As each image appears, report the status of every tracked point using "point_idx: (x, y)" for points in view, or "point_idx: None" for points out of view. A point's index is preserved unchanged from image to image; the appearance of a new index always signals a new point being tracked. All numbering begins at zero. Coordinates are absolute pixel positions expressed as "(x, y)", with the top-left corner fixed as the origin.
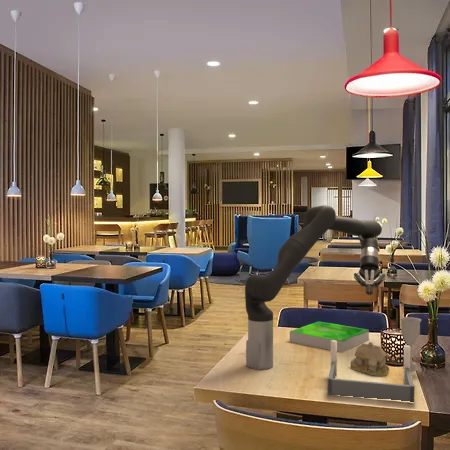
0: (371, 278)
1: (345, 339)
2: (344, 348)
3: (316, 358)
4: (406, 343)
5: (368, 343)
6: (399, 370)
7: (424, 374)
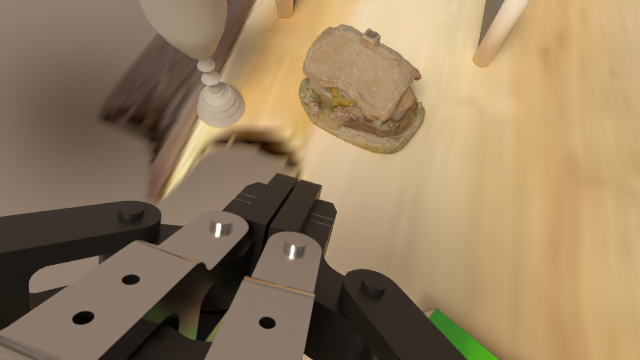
0: (180, 257)
1: None
2: None
3: (536, 224)
4: (216, 47)
5: (379, 36)
6: (264, 93)
7: None
